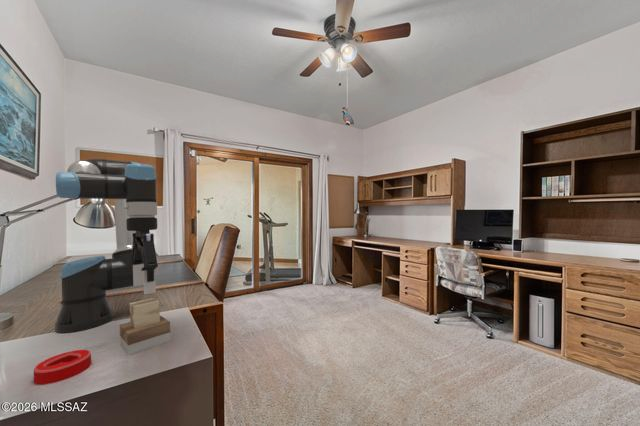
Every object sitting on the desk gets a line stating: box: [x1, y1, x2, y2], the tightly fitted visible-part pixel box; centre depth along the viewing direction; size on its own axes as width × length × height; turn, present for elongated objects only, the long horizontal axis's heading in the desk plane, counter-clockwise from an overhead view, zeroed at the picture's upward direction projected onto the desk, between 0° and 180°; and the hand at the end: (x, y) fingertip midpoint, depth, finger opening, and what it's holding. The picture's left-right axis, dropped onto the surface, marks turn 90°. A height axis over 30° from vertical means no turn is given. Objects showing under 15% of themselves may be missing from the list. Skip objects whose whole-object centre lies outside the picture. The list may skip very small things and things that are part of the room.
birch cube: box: [129, 297, 160, 329], centre depth 75 cm, size 6×6×6 cm
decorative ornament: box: [33, 349, 92, 386], centre depth 61 cm, size 10×10×3 cm
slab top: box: [119, 315, 171, 345], centre depth 75 cm, size 10×10×3 cm
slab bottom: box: [120, 331, 172, 356], centre depth 75 cm, size 10×10×3 cm
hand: (144, 289), depth 76 cm, fingers open, 13 cm apart
